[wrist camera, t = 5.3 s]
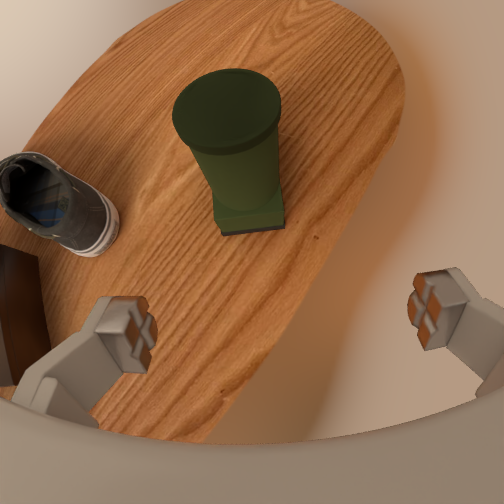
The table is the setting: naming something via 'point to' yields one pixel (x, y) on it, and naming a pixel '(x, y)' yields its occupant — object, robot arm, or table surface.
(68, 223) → the boat shoe
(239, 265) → the table surface
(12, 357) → the shoe bench
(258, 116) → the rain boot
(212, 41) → the table surface
